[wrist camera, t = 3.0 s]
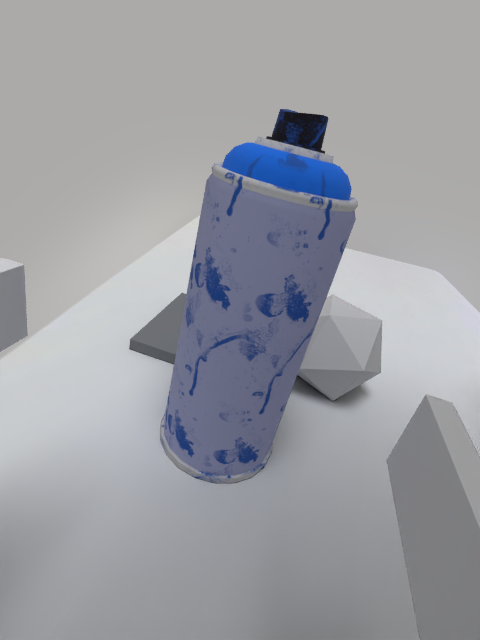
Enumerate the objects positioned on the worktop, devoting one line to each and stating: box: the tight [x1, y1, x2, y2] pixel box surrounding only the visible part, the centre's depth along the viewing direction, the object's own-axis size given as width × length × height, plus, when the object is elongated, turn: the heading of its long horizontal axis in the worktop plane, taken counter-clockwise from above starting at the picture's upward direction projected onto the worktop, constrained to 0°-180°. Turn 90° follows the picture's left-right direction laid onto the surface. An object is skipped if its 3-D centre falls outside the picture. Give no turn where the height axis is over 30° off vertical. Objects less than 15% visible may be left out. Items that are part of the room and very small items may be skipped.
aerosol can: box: [160, 109, 358, 483], centre depth 20 cm, size 8×8×20 cm
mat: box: [129, 293, 187, 364], centre depth 36 cm, size 12×12×1 cm
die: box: [297, 295, 382, 401], centre depth 32 cm, size 8×9×10 cm
